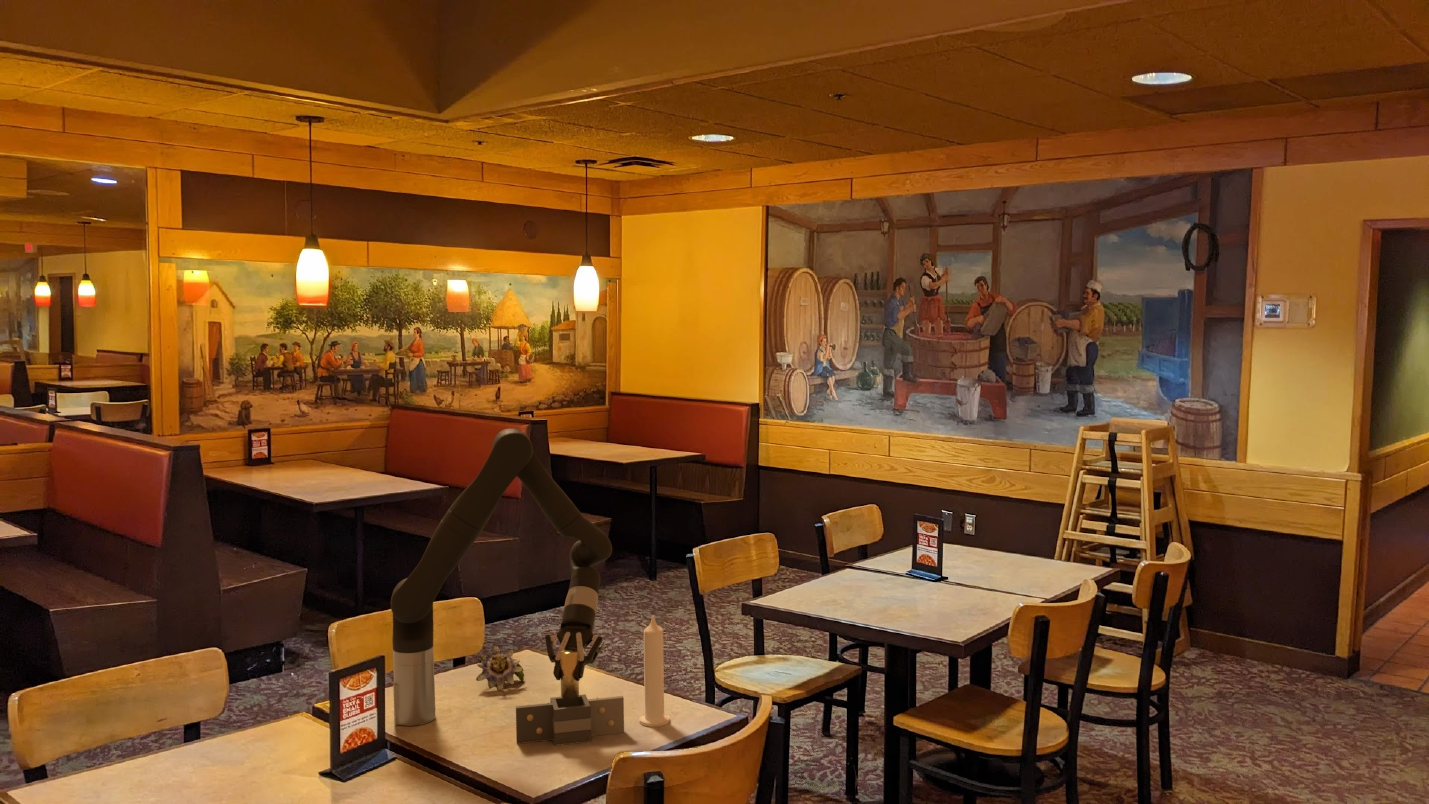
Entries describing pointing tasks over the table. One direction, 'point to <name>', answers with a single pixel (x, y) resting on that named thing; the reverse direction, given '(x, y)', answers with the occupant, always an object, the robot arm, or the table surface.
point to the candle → (654, 677)
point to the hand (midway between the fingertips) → (567, 678)
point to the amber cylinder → (569, 674)
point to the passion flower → (499, 668)
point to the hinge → (569, 719)
